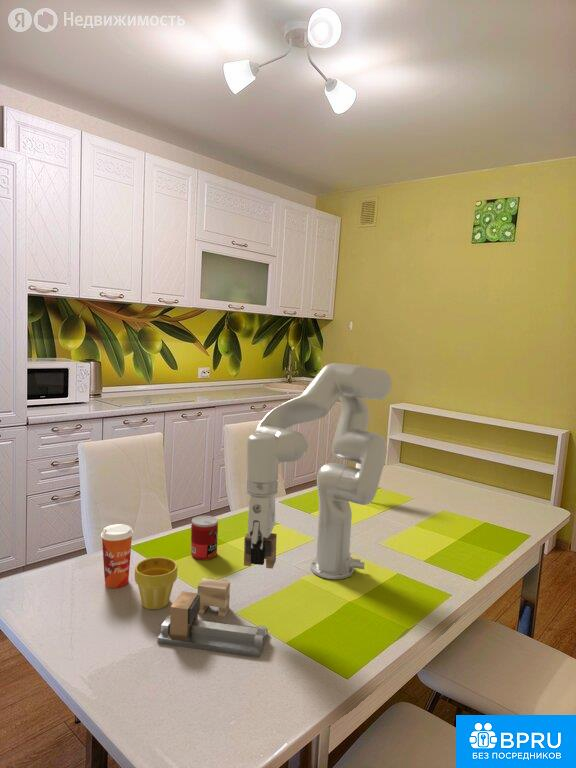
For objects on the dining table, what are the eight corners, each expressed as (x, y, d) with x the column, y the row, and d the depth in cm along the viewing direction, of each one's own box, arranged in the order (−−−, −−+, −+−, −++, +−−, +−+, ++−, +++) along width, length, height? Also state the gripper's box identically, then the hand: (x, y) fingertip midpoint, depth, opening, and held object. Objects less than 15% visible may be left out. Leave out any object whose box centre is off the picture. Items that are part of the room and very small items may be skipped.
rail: (267, 633, 123) (268, 600, 122) (259, 657, 114) (260, 621, 113) (172, 620, 127) (173, 587, 126) (157, 642, 118) (157, 607, 117)
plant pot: (178, 611, 131) (179, 573, 129) (134, 616, 128) (135, 577, 126) (175, 590, 140) (175, 555, 139) (134, 594, 137) (134, 558, 136)
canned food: (212, 562, 157) (213, 526, 156) (186, 558, 159) (187, 523, 158) (220, 551, 165) (221, 517, 164) (196, 548, 166) (196, 514, 165)
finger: (247, 558, 131) (248, 531, 130) (275, 561, 130) (276, 533, 129) (243, 566, 127) (243, 538, 126) (272, 569, 126) (272, 541, 125)
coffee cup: (103, 592, 138) (103, 537, 136) (98, 578, 145) (98, 525, 143) (136, 586, 141) (136, 532, 140) (130, 573, 149) (130, 521, 147)
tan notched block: (203, 603, 135) (203, 576, 134) (229, 606, 134) (230, 580, 133) (197, 612, 130) (197, 585, 129) (224, 616, 129) (225, 589, 128)
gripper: (270, 499, 117) (268, 577, 120) (283, 476, 134) (281, 545, 136) (237, 496, 118) (235, 573, 121) (254, 474, 135) (252, 542, 137)
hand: (259, 558), depth 128 cm, fingers closed on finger, 4 cm apart
